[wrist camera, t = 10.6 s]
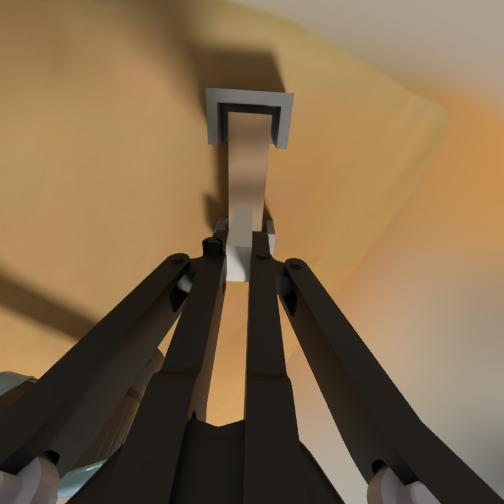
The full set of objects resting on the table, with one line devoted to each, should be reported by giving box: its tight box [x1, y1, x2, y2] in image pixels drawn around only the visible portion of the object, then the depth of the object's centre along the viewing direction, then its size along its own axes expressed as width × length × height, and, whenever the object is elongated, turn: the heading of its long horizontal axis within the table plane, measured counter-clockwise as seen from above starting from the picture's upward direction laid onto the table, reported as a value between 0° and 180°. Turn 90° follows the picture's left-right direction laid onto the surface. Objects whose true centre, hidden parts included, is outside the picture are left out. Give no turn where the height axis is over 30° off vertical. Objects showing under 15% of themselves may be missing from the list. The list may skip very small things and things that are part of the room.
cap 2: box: [214, 217, 275, 255], centre depth 29 cm, size 4×8×4 cm, turn 87°
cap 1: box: [205, 88, 294, 149], centre depth 21 cm, size 4×8×4 cm, turn 87°
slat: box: [228, 112, 272, 231], centre depth 25 cm, size 15×4×5 cm, turn 177°
